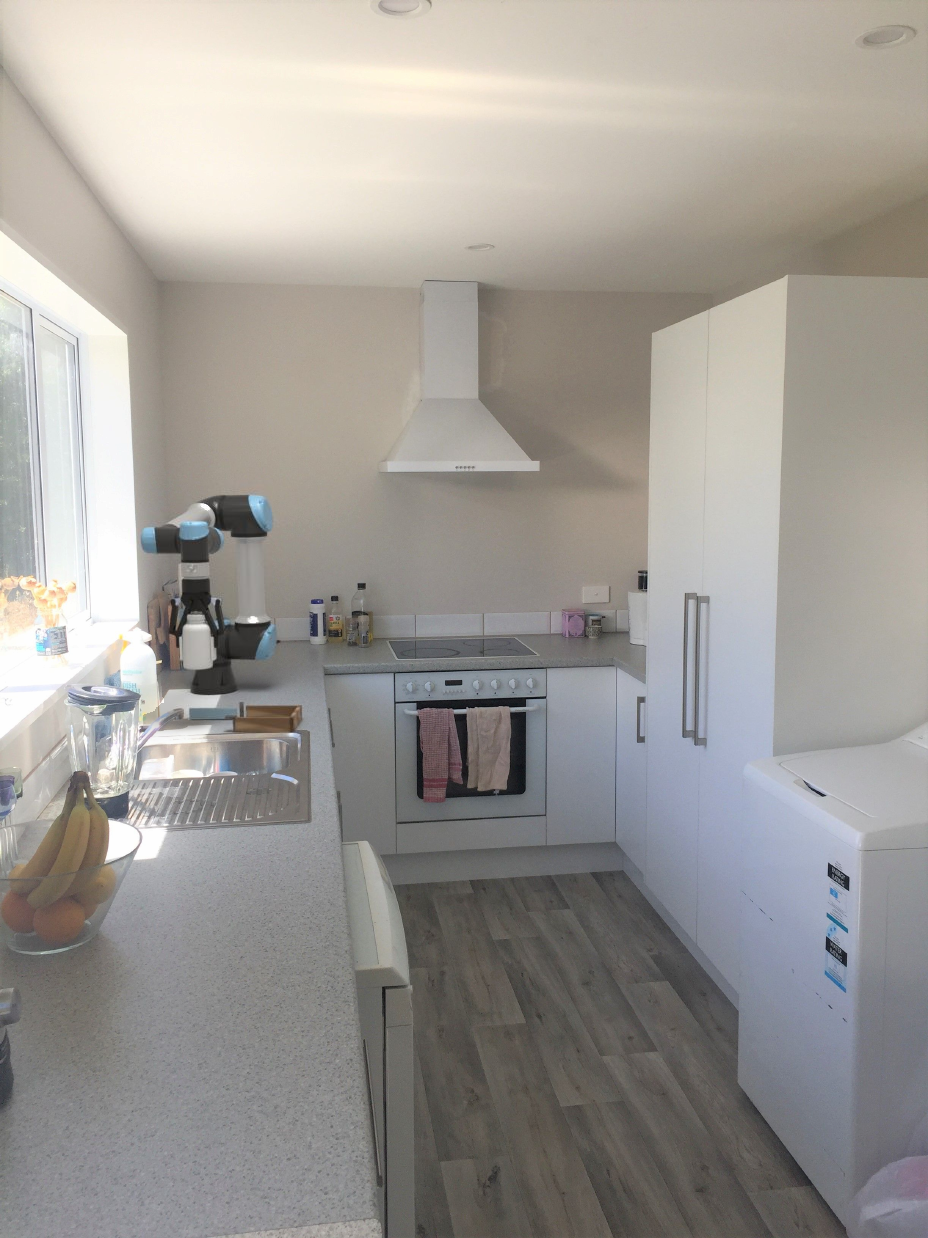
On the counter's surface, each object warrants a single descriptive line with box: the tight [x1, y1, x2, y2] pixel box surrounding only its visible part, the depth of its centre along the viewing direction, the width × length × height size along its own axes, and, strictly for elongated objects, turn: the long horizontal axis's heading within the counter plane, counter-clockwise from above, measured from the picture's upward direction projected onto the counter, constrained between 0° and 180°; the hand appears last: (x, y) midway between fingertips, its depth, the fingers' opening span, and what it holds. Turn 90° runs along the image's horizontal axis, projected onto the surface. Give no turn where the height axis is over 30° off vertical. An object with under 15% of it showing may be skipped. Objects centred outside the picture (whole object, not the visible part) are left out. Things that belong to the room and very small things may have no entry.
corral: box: [224, 701, 303, 733], centre depth 269 cm, size 16×19×5 cm
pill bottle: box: [182, 612, 213, 671], centre depth 264 cm, size 8×8×15 cm
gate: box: [188, 707, 238, 720], centre depth 276 cm, size 14×1×3 cm, turn 91°
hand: (198, 659), depth 265 cm, fingers closed on pill bottle, 8 cm apart
